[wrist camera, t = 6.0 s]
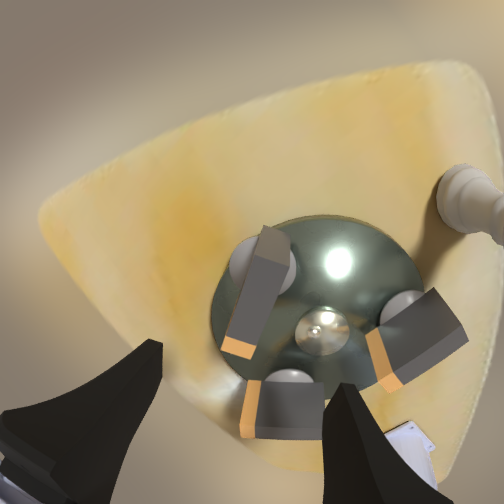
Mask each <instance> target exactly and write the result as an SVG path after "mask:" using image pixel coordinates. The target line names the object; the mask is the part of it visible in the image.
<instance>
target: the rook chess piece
mask: <svg viewBox="0 0 504 504" xmlns="http://www.w3.org/2000/svg"><path fill="white" fill-rule="evenodd" d="M436 199H437V209H438V212H439V214H440V216H441V218H442V220H443V221H444V222H445V223H446V224H447V225H448V226H449V227H450V228H453V229H455V230H456V231H458V232H462V233H466V234H471V233H477V232H480V231H482V232H485V233H488V234H490V235H491V236H492V239H493V240H494V241H495V242H496V243H497V244H499V245H502V246H503V247H504V193H502V192H501V191H499V190H498V189H496V188H495V186H494V184H493V183H492V180H491V179H490V178H489V177H488V176H487V175H486V174H485V173H484V172H483V171H482V170H480V169H478V168H475V167H473V166H471V165H468V164H459V165H455V166H453V167H452V168H451V169H449V170H448V171H447V172H446V173H445V174H444V176H443V178H442V179H441V181H440V183H439V186H438V191H437V195H436Z"/></svg>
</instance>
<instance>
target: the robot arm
mask: <svg viewBox="0 0 504 504" xmlns="http://www.w3.org/2000/svg"><path fill="white" fill-rule="evenodd" d="M162 358H163V343H161V342H158V341H154V340H151V339H147V340H146V341H144V342H143V343H142V344H141V345H140V346H138V347H137V348H136V349H135V350H134V351H132V352H131V353H130V354H128V355H127V356H126V357H125V358H123V359H122V360H121V361H119V362H118V363H117V364H115V365H114V366H112V367H111V368H110V369H108V370H107V371H105V372H104V373H102V374H100V375H99V376H97V377H96V378H94V379H93V380H91V381H89V382H88V383H86V384H84V385H82V386H80V387H78V388H76V389H74V390H72V391H70V392H68V393H65V394H63V395H61V396H58V397H56V398H53V399H51V400H48V401H44V402H41V403H38V404H35V405H31V406H28V407H22V408H17V409H12V410H6V411H4V412H3V413H2V414H1V415H0V451H1V452H2V454H3V455H4V456H5V458H4V459H3V461H1V460H0V504H110V500H111V496H112V493H113V490H114V487H115V484H116V481H117V477H118V474H119V471H120V469H121V466H122V463H123V460H124V458H125V455H126V453H127V450H128V447H129V444H130V443H131V441H132V438H133V436H134V434H135V433H136V431H137V429H138V427H139V425H140V423H141V421H142V420H143V418H144V416H145V414H146V412H147V410H148V408H149V406H150V405H151V403H152V401H153V399H154V397H155V394H156V392H157V389H158V387H159V384H160V382H161V379H162ZM322 446H323V463H324V495H323V504H454V503H453V501H452V500H450V499H448V498H447V497H445V496H444V495H442V494H441V493H439V492H438V491H437V483H436V479H435V475H434V471H433V467H432V463H431V459H430V455H429V452H431V451H432V450H434V449H435V445H434V444H433V443H432V442H431V441H430V440H429V438H428V437H427V436H426V435H425V434H424V433H423V432H422V431H421V430H420V429H419V427H418V426H417V425H416V424H415V423H414V422H413V421H409V422H407V423H405V424H403V425H401V426H399V427H397V428H395V429H393V430H391V431H389V432H387V433H385V434H383V432H382V431H381V429H380V427H379V426H378V424H377V423H376V421H375V419H374V418H373V416H372V414H371V413H370V411H369V409H368V407H367V406H366V404H365V402H364V400H363V398H362V397H361V395H360V393H359V391H358V390H357V388H356V386H355V384H349V383H342V382H341V383H340V385H339V386H338V388H337V390H336V391H335V393H334V395H333V397H332V398H331V400H330V402H329V403H328V405H327V407H326V408H325V410H324V412H323V421H322Z"/></svg>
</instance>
